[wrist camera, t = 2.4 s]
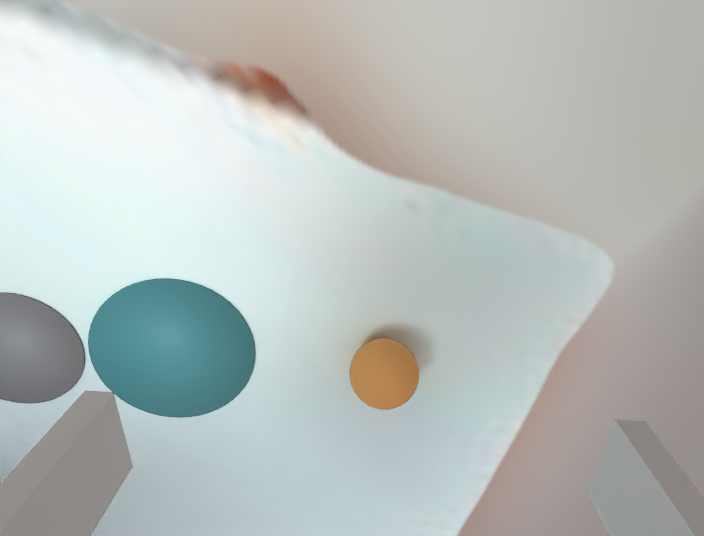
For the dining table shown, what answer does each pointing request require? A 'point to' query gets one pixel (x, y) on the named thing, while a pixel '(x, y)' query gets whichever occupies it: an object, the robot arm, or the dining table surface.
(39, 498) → the robot arm
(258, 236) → the dining table surface
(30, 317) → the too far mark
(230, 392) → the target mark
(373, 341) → the ball
